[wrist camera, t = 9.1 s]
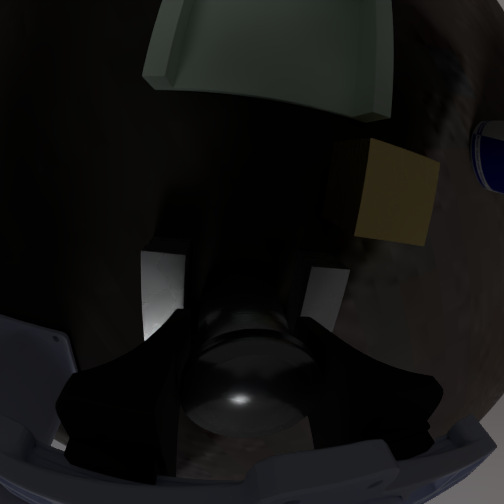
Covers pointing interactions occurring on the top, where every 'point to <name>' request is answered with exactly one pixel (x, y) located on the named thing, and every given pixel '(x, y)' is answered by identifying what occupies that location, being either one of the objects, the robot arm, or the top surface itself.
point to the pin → (247, 361)
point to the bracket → (177, 281)
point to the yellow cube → (380, 191)
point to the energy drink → (488, 154)
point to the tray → (279, 52)
